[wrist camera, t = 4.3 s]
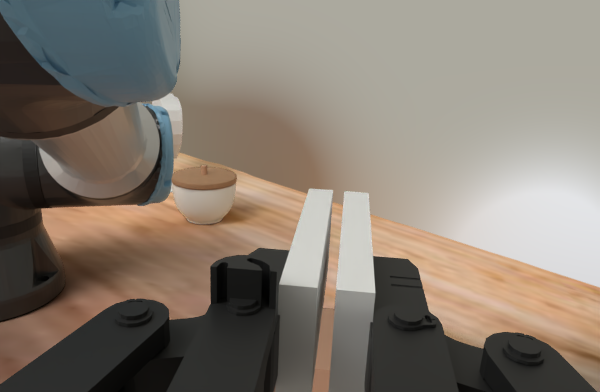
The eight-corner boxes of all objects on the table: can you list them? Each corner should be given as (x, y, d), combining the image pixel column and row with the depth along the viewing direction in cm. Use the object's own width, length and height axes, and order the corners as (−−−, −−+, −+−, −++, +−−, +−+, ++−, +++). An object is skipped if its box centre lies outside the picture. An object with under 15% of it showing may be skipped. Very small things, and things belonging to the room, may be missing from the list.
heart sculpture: (188, 192, 101) (185, 100, 95) (162, 194, 99) (158, 100, 93) (174, 172, 114) (172, 90, 109) (151, 173, 112) (147, 90, 107)
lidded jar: (207, 204, 94) (206, 154, 92) (249, 218, 88) (249, 165, 85) (159, 218, 86) (157, 164, 83) (202, 235, 80) (201, 178, 77)
